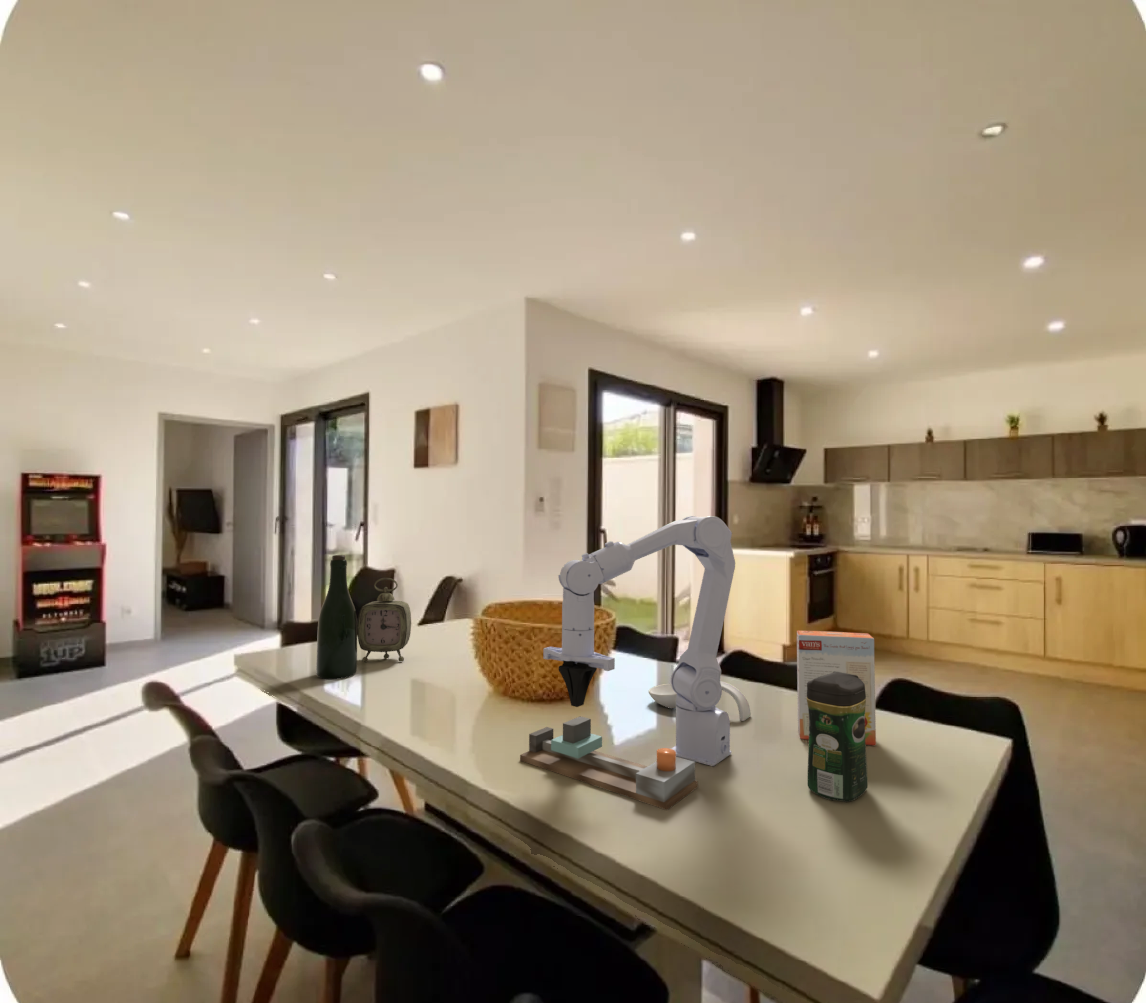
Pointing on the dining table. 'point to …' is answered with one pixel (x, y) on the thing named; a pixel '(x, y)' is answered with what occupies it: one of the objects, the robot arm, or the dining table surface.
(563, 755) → the rail board
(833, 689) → the coffee jar
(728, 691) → the spoon rest
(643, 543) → the robot arm
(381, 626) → the tabletop clock
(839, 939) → the dining table surface
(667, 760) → the button
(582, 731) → the carriage
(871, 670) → the cracker box
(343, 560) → the green wine bottle
